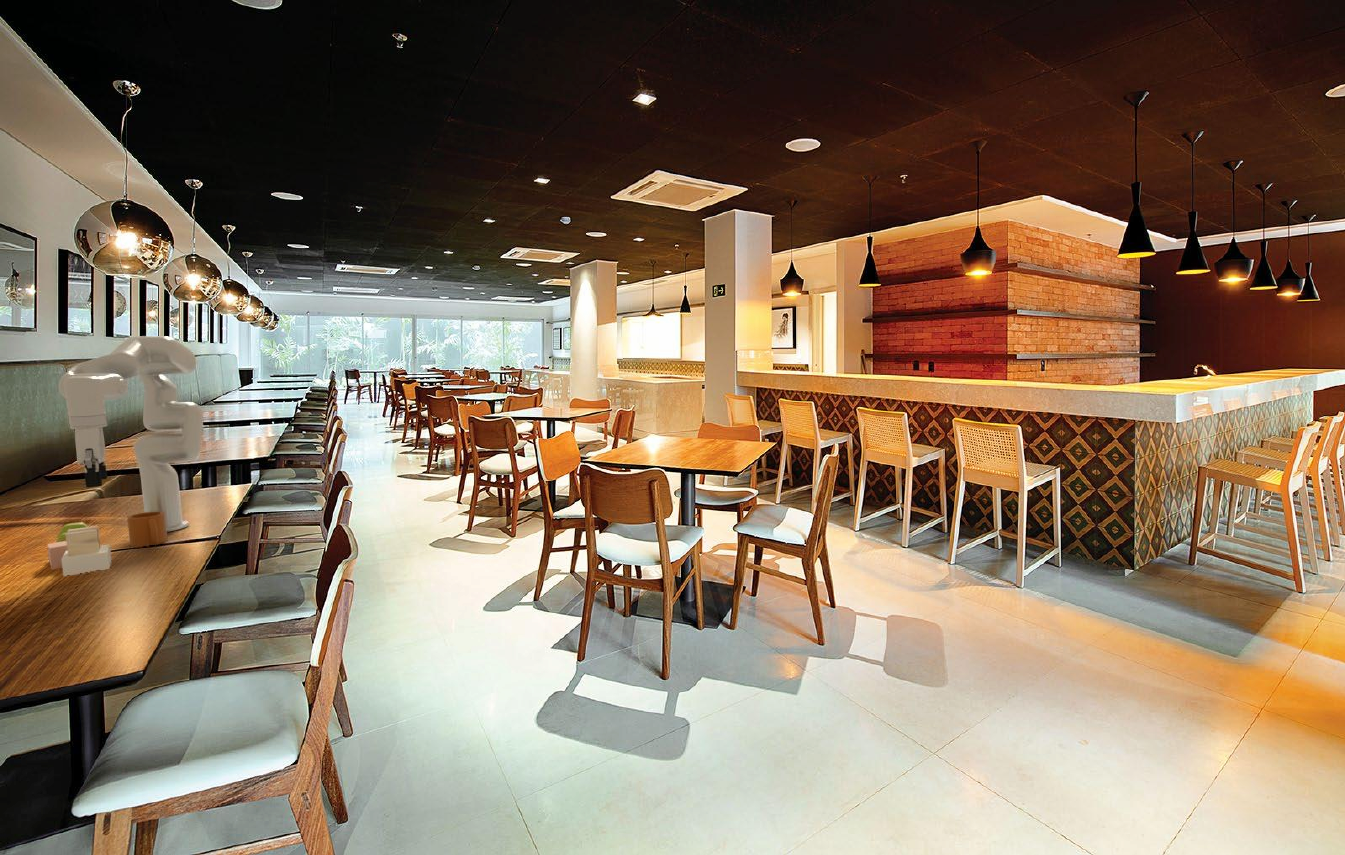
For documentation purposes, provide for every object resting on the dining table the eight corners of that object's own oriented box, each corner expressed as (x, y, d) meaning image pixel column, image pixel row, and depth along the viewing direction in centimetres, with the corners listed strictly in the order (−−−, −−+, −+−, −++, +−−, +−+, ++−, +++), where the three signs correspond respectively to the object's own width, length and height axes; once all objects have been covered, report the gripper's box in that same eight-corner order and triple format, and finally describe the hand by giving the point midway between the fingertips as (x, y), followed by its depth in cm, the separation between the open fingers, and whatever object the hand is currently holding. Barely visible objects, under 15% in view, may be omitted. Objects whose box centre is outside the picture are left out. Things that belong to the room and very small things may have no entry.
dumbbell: (92, 555, 185) (89, 531, 184) (53, 561, 180) (50, 536, 179) (94, 542, 197) (92, 519, 197) (59, 547, 192) (56, 524, 191)
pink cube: (50, 565, 176) (47, 544, 176) (79, 559, 181) (76, 539, 180) (52, 569, 172) (49, 548, 172) (82, 564, 177) (79, 543, 176)
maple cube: (71, 551, 173) (68, 529, 172) (100, 546, 177) (98, 525, 176) (68, 556, 168) (65, 534, 168) (98, 552, 172) (96, 530, 171)
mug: (130, 552, 187) (126, 522, 186) (130, 543, 196) (126, 514, 195) (169, 545, 193) (165, 516, 192) (167, 537, 202) (163, 509, 201)
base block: (68, 568, 174) (65, 550, 173) (111, 561, 179) (109, 544, 179) (63, 577, 167) (61, 559, 166) (109, 570, 172) (107, 552, 172)
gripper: (75, 419, 178) (84, 478, 181) (63, 427, 164) (73, 491, 167) (110, 416, 182) (118, 475, 185) (102, 424, 168) (110, 487, 171)
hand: (97, 483), depth 176 cm, fingers open, 9 cm apart
